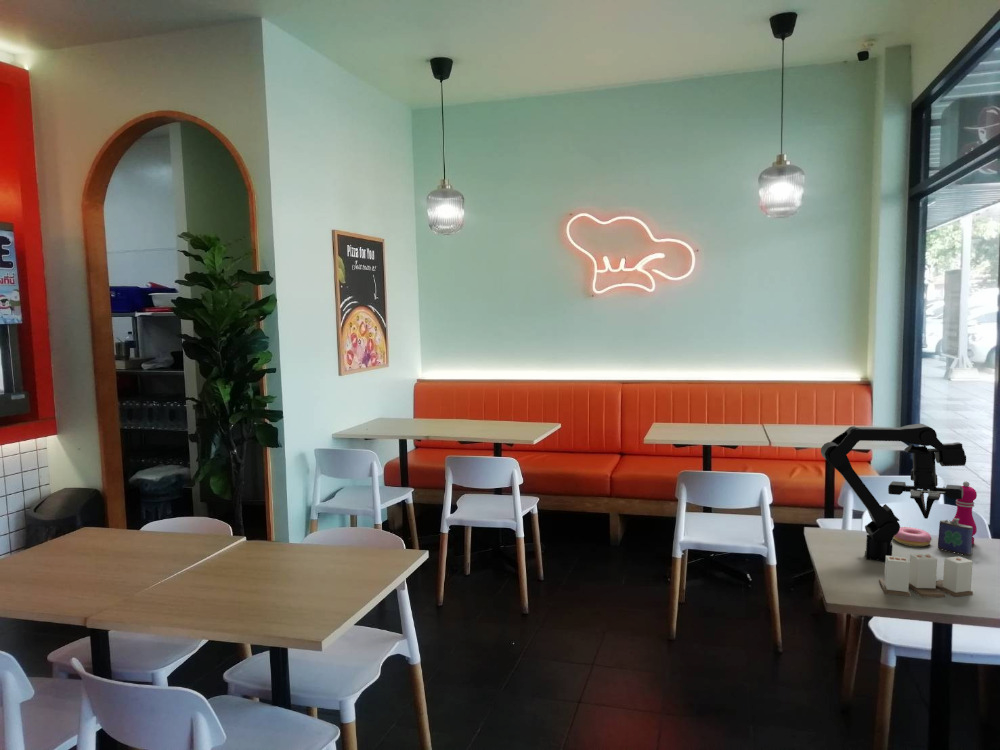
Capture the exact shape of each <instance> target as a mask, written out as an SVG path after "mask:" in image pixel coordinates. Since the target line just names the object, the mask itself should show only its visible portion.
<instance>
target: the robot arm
mask: <svg viewBox="0 0 1000 750" xmlns="http://www.w3.org/2000/svg"><path fill="white" fill-rule="evenodd" d="M863 441H864V442H865V441H866V442H902V443H903V442H904V443H907V444H909V445H908V446H907V447H906V448H904V451H905V452H906V453H908V454H912V469H910V480H911V481H913V485H907V484H906V482H905V481H894V480H893V481H891V482H890V484H889V485H888V488H887V489H888V492H887V493H888V494H889V495H896V496H900V495H902V494H903V492H904V493H906V492H907V493H910V496H909V499H913V500H914V501H915V503H916V504H917V506H918V508H919V510H920V512H921V514H922V516H923V519H928V518H929V516H930V513H931V509H932V507H933V504H934V503H935V501H939V500H940V498H941V495H945V496H946V498H947V499H949V500H951V499H952V500H957V499H962V497H963V487H962V486H963V485H955V484H946V487H938V484H939V483H938V475H937V474H936V473H937V471H936V463H937V464H939V465H940V466H941V467H960V466H961V467H962V466H963V467H964V466H965V465H966V463H967V456H966V453H965V450H964V447H963V443H961V442H960V441H959V442H949V443H943V442H941V440H940V439H938V435H937V432H936V430H935V429H934V428H932V427H931V426H929V425H926V424H924V423H914V424H908V425H907V424H906V425H904V426H899V427H889V426H888V427H886V426H885V427H880V426H879V427H878V426H877V427H874V426H872V427H871V426H868V427H867V426H855V425H854V426H853V425H851V426H850V427H848V428H847V429H845V431H844V432H842V433H841V434H839V435H837V436H836V437H835V438H833V439H832V440H831V441H829V442H826V443H824V444H823V445H822V446H821V449H820V454H821V456H822V457H823V458H824V460H826V461H827V462H828V463H829V464H830V465H831V466H832V467H833V468H834V470H837V471H838V472H839V474H840V475H841V476H842V478H843V479H844V480H845V481H846V483H847V484H848V486H849V487H850V489H852V491H853V492H854V493H855V495H856V496H857V498H858V499H859V500H860V501H861V503H862V504H863V505H864V507H865V509H866V510H867V512H868V515H869V518H870V519H871V521H870V522H868V523H867V524H866V525H865V526H864V529H865V532H866V543H865V544H866V545H865V550H864V552H865V553H864V554H865V559H867V560H873V561H880V562H881V561H882V562H885V560H886V556H893V543H892V541H893V539H894V535H896V534H897V533H898V532H899V530H900V527H901V525H900V521H901V520H900V519H899V518H898V516H896V515H895V513H894V511H893V510H892V508H890V507H889V505H887V504H886V503H885V504H883V505H881V504H880V503H879V502H878V500H877V499H876V498H875V496H874V495H873V494H872V492H871V491H870V489H869V488H868V487H867V485H866V484H865V483H864V482H863V479H861V478H860V476H859V475H858V474H857V472H856V471H855V469H853V466H852V464H851V462H850V459H849V456H848V454H849V453H850V452H851V451H852V450H853V449H854V447H855V446H856V445H857V444H858V443H859V442H863ZM928 447H932V448H928ZM925 494H927V497H926V502H925ZM925 503H926V504H925Z"/></svg>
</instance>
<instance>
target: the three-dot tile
mask: <svg viewBox="0 0 1000 750" xmlns="http://www.w3.org/2000/svg"><path fill="white" fill-rule="evenodd" d="M884 563H885V564H884V565H885V566H884V585H885V587H886V589H887V590H895V591H903V592H908V590H909V570H910V559H908V558H907V557H905V556H894V555H892V556H886V560H885V561H884Z"/></svg>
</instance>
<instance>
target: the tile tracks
mask: <svg viewBox="0 0 1000 750" xmlns="http://www.w3.org/2000/svg"><path fill="white" fill-rule="evenodd" d="M878 582H879V585H880V586H881V589H882V591H883V592H884V594H889V595H896V594H897V595H896V596H904V595H906V596H907V597H911V592H910V590H911V589H912V591H913V592H914V591H915V592H914V593H916V594H917V595H918V594H919V596H920V597H921V596H922V597H921V598H946V594H948V595H950V596H951V597H954V598H956V597H962V596H963V597H964V596H970V595H971V596H972V595H973V593H974V591H973V590H971V591H964V592H957V593H955V592H953V591H951V590H949V589H946V588H944V587H943V579H939V580H936V588H916V587H914V586H913V585H912V584H910V583H909V587H908V592H903V591H895V590H887V589H886V587H885V585H884V579H883V578H879V579H878ZM909 589H910V590H909Z"/></svg>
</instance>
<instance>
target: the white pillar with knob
mask: <svg viewBox="0 0 1000 750" xmlns="http://www.w3.org/2000/svg"><path fill="white" fill-rule="evenodd" d="M973 563H974V562H973V561H972V560H970V559H969V558H968V559H967V558H965V557H962V556H951V557H944V560H943V576H942V578H943V579H942V580H943V587H944V588H946V589H949V590H951V591H953V592H955V593H957V592H964V591H972V579H973V578H972V577H973V565H974V564H973Z"/></svg>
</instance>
